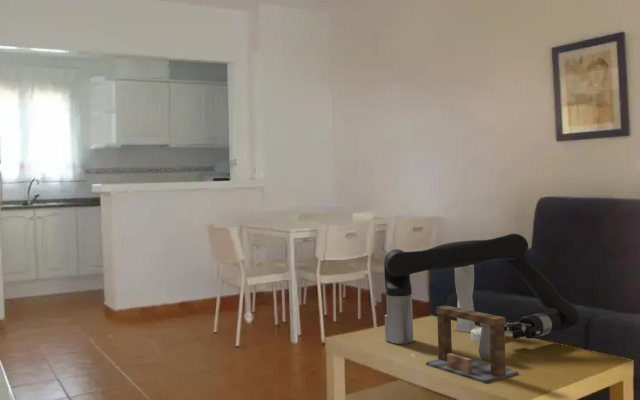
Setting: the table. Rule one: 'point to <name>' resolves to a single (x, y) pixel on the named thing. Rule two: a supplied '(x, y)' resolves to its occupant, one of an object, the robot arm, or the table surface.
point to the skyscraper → (464, 295)
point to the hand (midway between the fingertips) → (503, 333)
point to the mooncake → (476, 334)
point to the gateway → (465, 364)
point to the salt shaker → (485, 342)
